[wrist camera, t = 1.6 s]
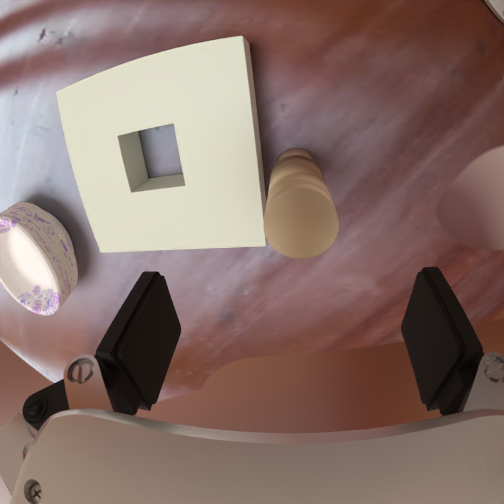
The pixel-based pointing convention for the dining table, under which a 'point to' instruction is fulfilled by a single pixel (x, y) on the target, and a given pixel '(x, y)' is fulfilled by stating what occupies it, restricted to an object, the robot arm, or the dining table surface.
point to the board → (189, 144)
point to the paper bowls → (36, 258)
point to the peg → (299, 207)
